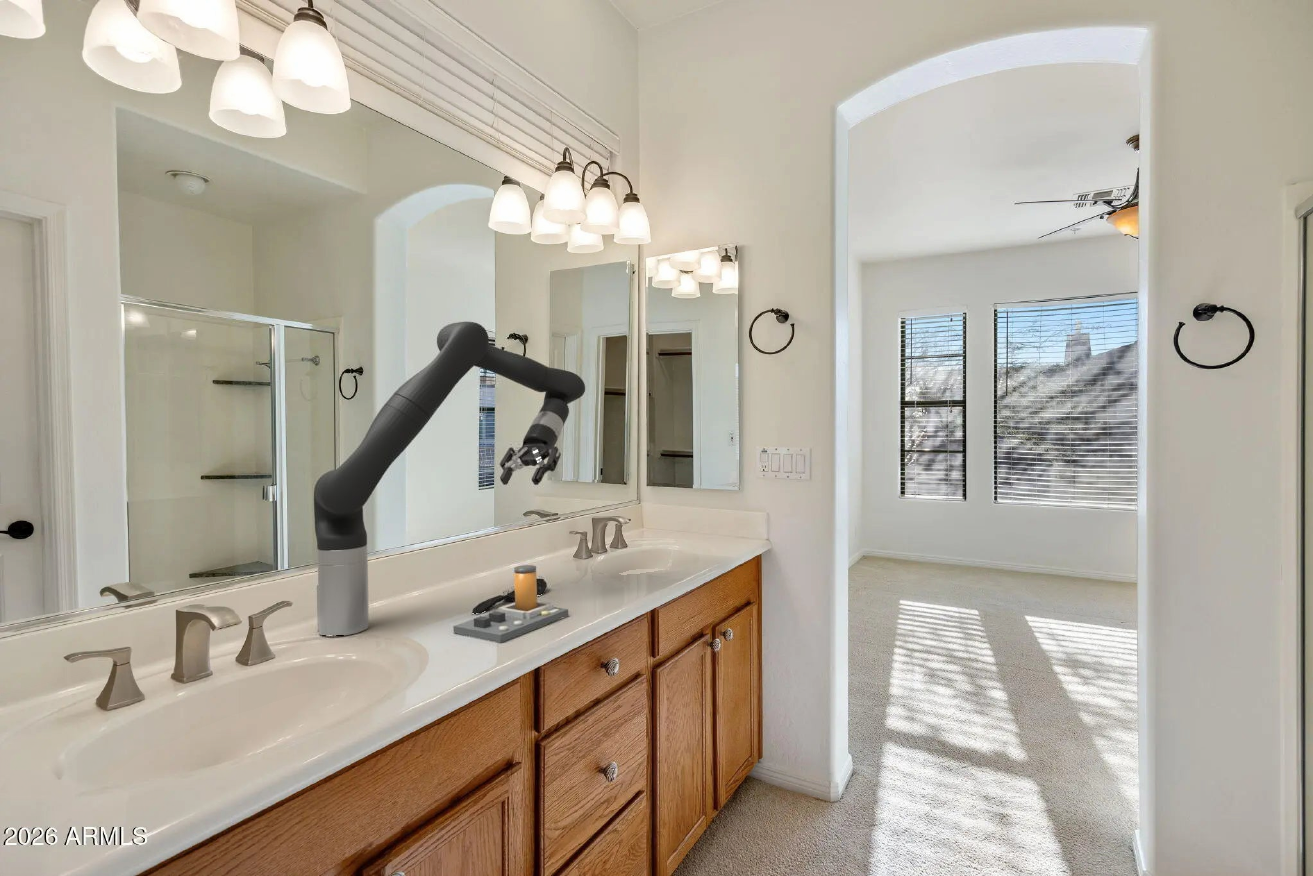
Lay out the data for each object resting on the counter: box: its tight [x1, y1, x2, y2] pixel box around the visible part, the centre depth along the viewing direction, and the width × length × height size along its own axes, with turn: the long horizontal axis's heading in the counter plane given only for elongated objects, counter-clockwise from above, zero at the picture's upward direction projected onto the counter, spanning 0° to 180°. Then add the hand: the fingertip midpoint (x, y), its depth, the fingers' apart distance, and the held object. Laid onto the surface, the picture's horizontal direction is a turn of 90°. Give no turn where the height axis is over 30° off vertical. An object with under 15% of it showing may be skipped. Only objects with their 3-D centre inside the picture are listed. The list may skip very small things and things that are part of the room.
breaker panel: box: [453, 600, 569, 644], centre depth 129 cm, size 13×20×3 cm, turn 149°
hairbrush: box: [471, 576, 548, 614], centre depth 149 cm, size 8×4×25 cm
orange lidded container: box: [513, 564, 538, 611], centre depth 133 cm, size 5×5×10 cm
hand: (518, 482), depth 144 cm, fingers open, 8 cm apart
